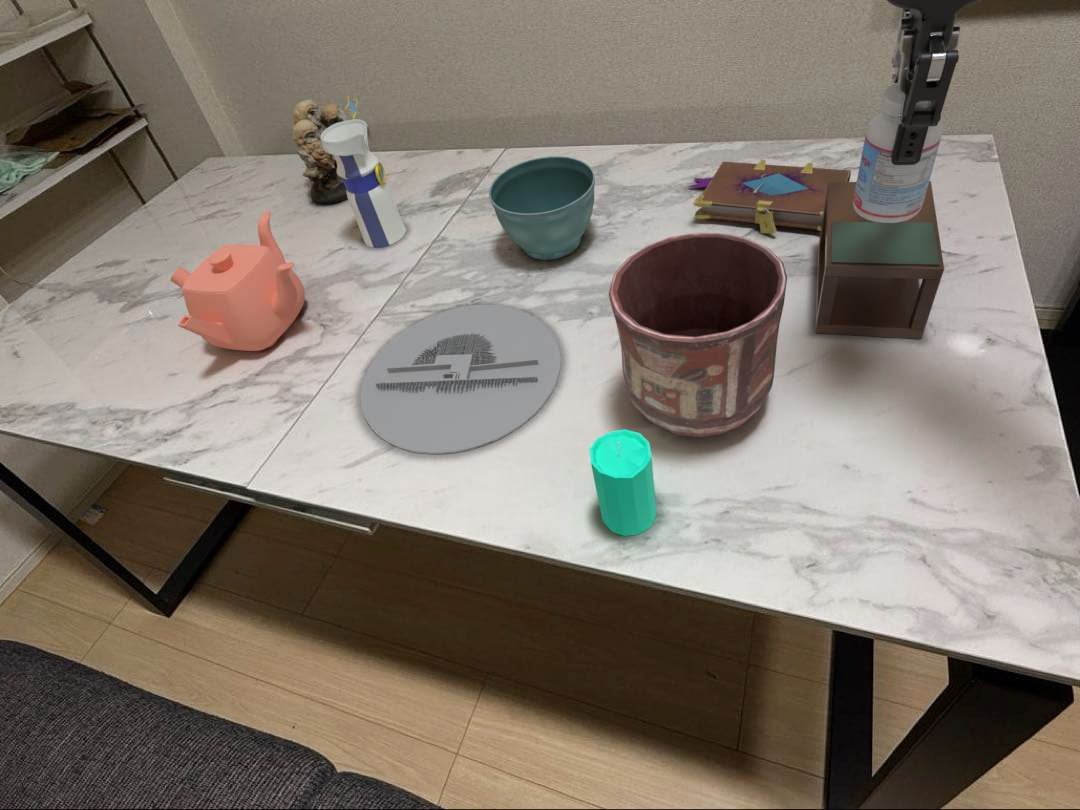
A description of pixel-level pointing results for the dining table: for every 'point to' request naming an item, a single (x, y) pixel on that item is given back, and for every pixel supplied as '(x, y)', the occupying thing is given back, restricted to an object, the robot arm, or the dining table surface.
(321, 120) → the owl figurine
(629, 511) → the candle
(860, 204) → the pill bottle
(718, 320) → the pottery
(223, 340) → the teapot
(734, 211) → the book
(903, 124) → the robot arm
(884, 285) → the stand
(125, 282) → the dining table surface
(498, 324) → the plate
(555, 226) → the flower pot
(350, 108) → the water bottle
